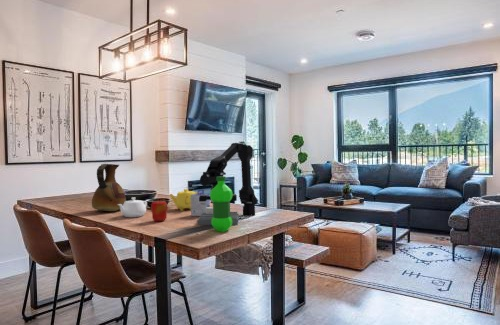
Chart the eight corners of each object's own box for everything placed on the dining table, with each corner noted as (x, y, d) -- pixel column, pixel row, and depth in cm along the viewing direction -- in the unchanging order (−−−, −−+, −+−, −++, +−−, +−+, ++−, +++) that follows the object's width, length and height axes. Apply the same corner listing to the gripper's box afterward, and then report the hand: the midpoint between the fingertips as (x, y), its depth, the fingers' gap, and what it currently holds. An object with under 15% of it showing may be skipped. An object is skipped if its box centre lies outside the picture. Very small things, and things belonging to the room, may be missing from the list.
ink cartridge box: (210, 214, 204) (209, 189, 203) (207, 216, 198) (206, 191, 198) (194, 214, 206) (193, 189, 205) (190, 216, 200) (190, 190, 200)
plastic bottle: (237, 230, 163) (236, 176, 162) (217, 234, 157) (216, 178, 156) (225, 226, 171) (225, 175, 170) (206, 230, 165) (205, 176, 164)
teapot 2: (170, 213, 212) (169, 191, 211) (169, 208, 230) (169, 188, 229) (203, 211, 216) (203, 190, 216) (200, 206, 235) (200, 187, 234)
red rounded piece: (151, 223, 183) (150, 200, 182) (151, 220, 191) (150, 198, 190) (168, 221, 185) (167, 199, 185) (167, 218, 193) (166, 197, 193)
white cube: (214, 214, 190) (214, 207, 190) (213, 215, 187) (213, 208, 187) (206, 214, 190) (206, 207, 190) (206, 215, 187) (205, 208, 187)
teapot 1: (138, 212, 216) (137, 194, 215) (155, 213, 210) (155, 195, 209) (109, 218, 196) (108, 199, 196) (127, 220, 190) (126, 200, 190)
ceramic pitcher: (131, 208, 230) (130, 162, 229) (114, 214, 210) (113, 164, 209) (104, 208, 233) (103, 162, 232) (85, 213, 214) (83, 164, 213)
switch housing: (238, 218, 192) (238, 211, 192) (237, 224, 176) (237, 217, 176) (201, 218, 192) (201, 212, 192) (197, 225, 176) (197, 217, 176)
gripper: (236, 182, 187) (237, 211, 188) (201, 182, 187) (202, 212, 188) (236, 184, 176) (236, 215, 177) (198, 185, 176) (199, 216, 177)
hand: (218, 214), depth 180 cm, fingers closed
